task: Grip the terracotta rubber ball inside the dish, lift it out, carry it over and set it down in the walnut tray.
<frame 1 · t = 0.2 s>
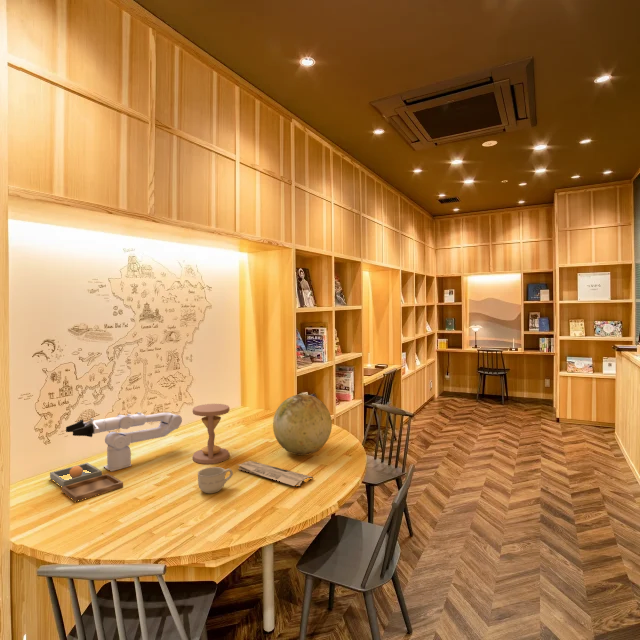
hand: (69, 431, 177), 21 cm above the table, tool horizontal, fingers open, 7 cm apart
dish: (76, 478, 179), on the table
hourglass: (211, 458, 206), on the table
ball: (76, 472, 179), point 3 cm above the table, touching dish
tray: (92, 489, 169), on the table
olive sphere: (302, 453, 213), on the table
newspaper: (272, 477, 184), on the table
teacup: (215, 490, 169), on the table
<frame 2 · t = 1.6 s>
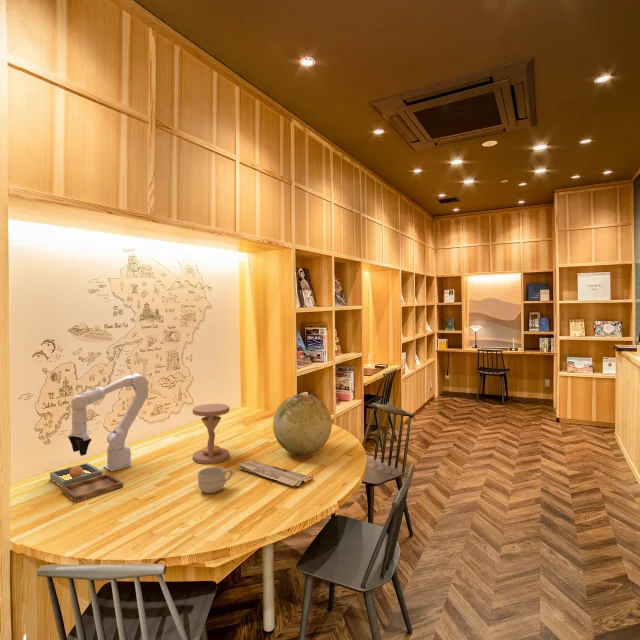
hand: (79, 453, 184), 9 cm above the table, tool pointing down, fingers open, 7 cm apart
nothing on the table moved.
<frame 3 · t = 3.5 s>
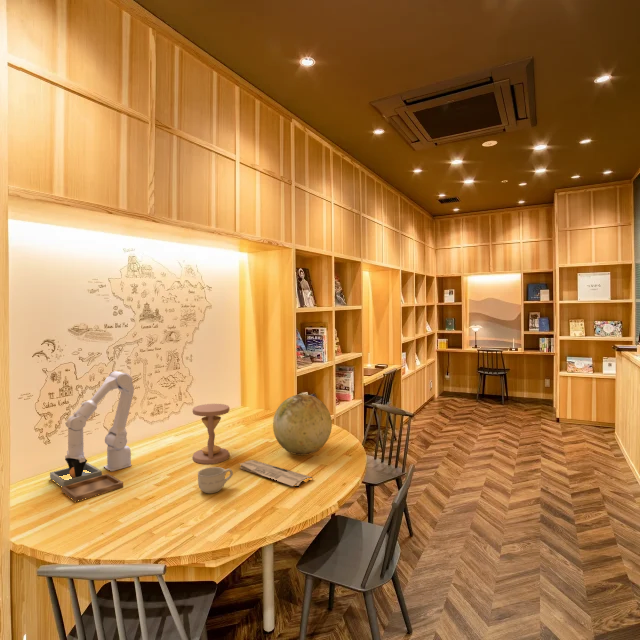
hand: (76, 474, 179), 2 cm above the table, tool pointing down, fingers closed on ball, 5 cm apart
ball: (76, 472, 179), point 3 cm above the table, touching dish, gripper
everything else where it was.
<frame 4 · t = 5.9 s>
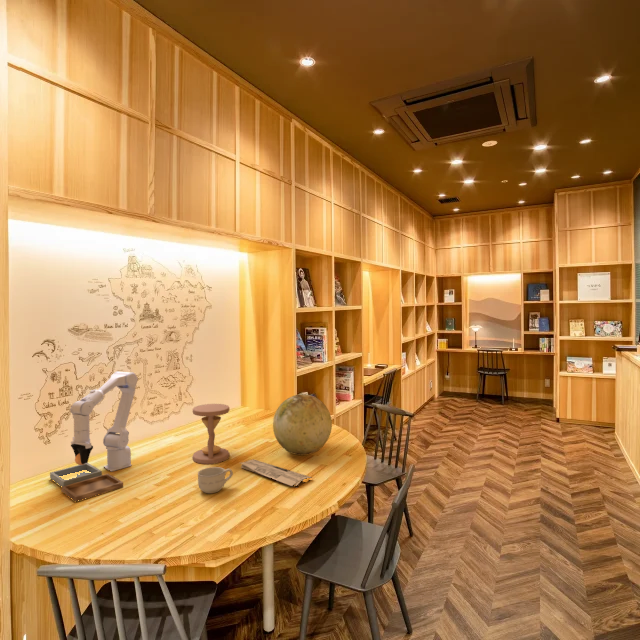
hand: (81, 461, 175), 9 cm above the table, tool pointing down, fingers closed on ball, 5 cm apart
ball: (81, 458, 175), point 10 cm above the table, touching gripper
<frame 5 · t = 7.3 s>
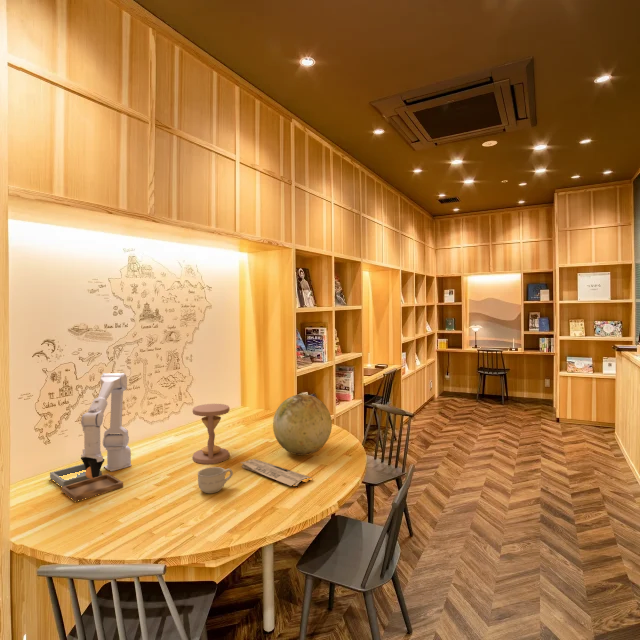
hand: (92, 475, 168), 6 cm above the table, tool pointing down, fingers closed on ball, 5 cm apart
ball: (92, 472, 168), point 7 cm above the table, touching gripper
when the fingers open (3 cm above the table, at t = 8.2 s): ball drops 2 cm, resting on tray.
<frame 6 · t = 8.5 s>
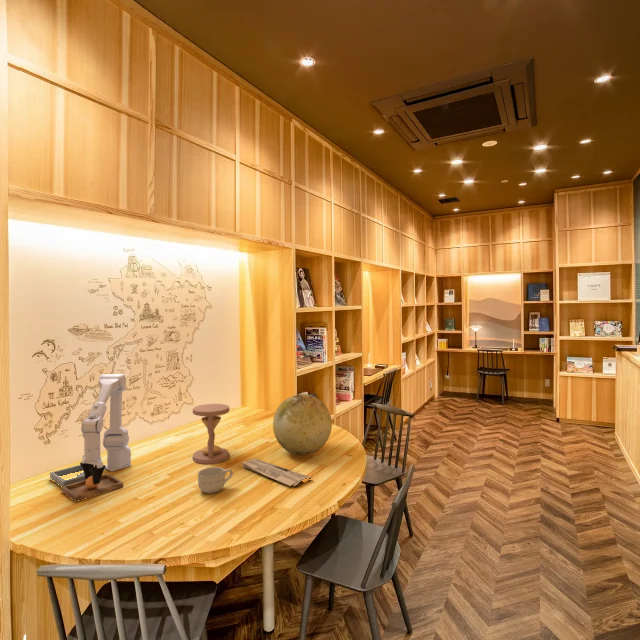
hand: (92, 481, 169), 3 cm above the table, tool pointing down, fingers open, 7 cm apart
ball: (92, 482, 168), point 3 cm above the table, touching tray
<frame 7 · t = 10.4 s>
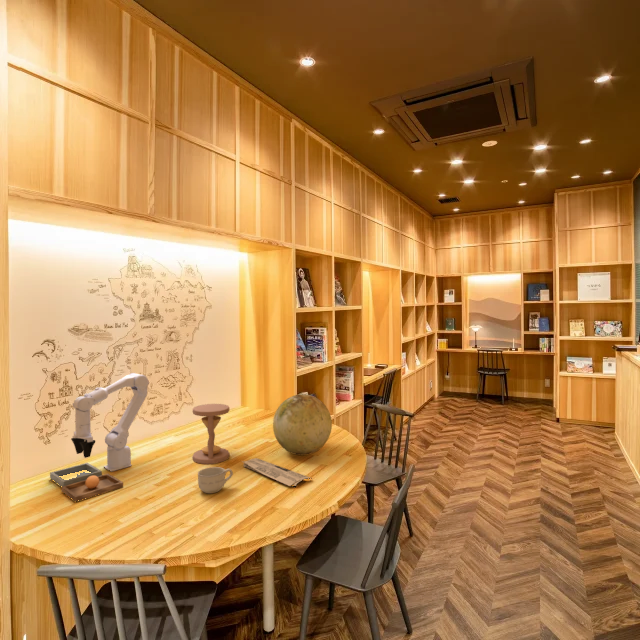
hand: (83, 455, 182), 9 cm above the table, tool pointing down, fingers open, 7 cm apart
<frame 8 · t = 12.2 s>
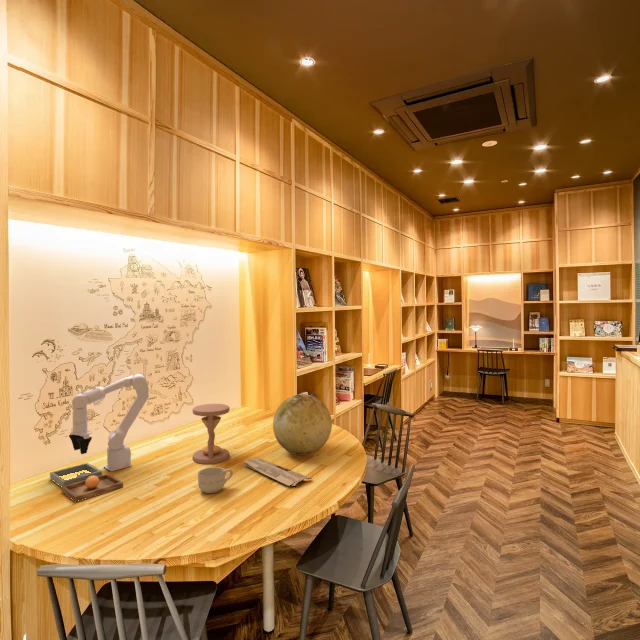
hand: (80, 451, 186), 9 cm above the table, tool pointing down, fingers open, 7 cm apart
at the end: ball inside the target area on the tray (0.1 cm from its centre), point 3.1 cm above the tray's base; the gripper is holding nothing; ball touching tray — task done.
